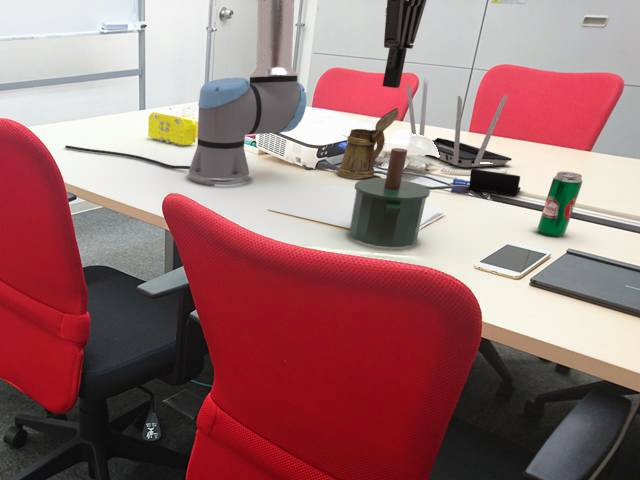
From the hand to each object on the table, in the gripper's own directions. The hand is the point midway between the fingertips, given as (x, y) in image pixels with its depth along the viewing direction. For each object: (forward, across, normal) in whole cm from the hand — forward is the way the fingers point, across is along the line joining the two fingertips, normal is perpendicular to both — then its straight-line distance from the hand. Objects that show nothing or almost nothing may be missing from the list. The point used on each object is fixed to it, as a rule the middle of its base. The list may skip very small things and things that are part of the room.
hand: (390, 86), depth 123 cm
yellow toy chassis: (+28, +30, +82) cm, 92 cm away
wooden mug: (+28, +35, +20) cm, 49 cm away
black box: (+27, +47, -10) cm, 55 cm away
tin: (+27, -6, -7) cm, 28 cm away
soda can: (+27, +22, -30) cm, 46 cm away
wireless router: (+28, +73, +12) cm, 79 cm away
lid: (+17, -6, -7) cm, 19 cm away
